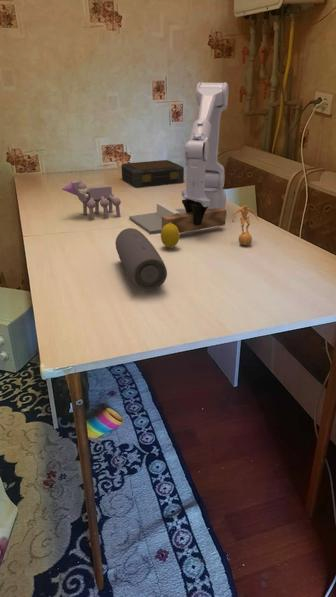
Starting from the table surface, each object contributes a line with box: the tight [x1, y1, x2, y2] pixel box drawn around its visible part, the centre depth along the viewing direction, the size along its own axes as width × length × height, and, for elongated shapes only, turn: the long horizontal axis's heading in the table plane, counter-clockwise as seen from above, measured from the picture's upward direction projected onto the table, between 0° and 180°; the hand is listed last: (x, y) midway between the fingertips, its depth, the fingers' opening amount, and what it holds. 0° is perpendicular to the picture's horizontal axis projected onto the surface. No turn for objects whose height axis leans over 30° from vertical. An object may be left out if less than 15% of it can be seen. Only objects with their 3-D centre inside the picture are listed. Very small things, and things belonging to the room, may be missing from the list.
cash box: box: [120, 159, 185, 189], centre depth 208 cm, size 25×20×8 cm
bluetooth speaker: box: [115, 227, 168, 292], centre depth 112 cm, size 23×9×10 cm, turn 17°
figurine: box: [231, 204, 259, 247], centre depth 132 cm, size 8×6×12 cm
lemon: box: [160, 223, 180, 249], centre depth 130 cm, size 6×6×8 cm
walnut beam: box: [162, 207, 227, 234], centre depth 141 cm, size 22×4×5 cm, turn 118°
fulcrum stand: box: [128, 202, 186, 235], centre depth 153 cm, size 22×18×5 cm
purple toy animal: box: [61, 179, 122, 221], centre depth 157 cm, size 20×11×14 cm, turn 113°
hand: (194, 223), depth 142 cm, fingers closed on walnut beam, 3 cm apart
